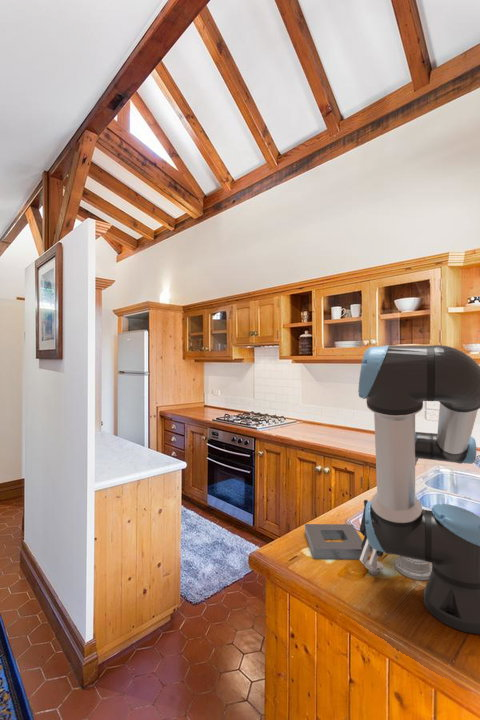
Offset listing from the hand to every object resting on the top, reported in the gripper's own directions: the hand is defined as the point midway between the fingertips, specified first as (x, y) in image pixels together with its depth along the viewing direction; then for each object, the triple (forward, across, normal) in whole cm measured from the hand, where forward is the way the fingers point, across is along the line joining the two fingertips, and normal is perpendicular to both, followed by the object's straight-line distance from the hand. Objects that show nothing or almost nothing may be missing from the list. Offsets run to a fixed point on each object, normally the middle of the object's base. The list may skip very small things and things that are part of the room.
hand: (367, 564), depth 99 cm
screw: (0, 0, -6) cm, 6 cm away
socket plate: (-4, +16, -9) cm, 18 cm away
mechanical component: (-6, -7, -12) cm, 16 cm away
